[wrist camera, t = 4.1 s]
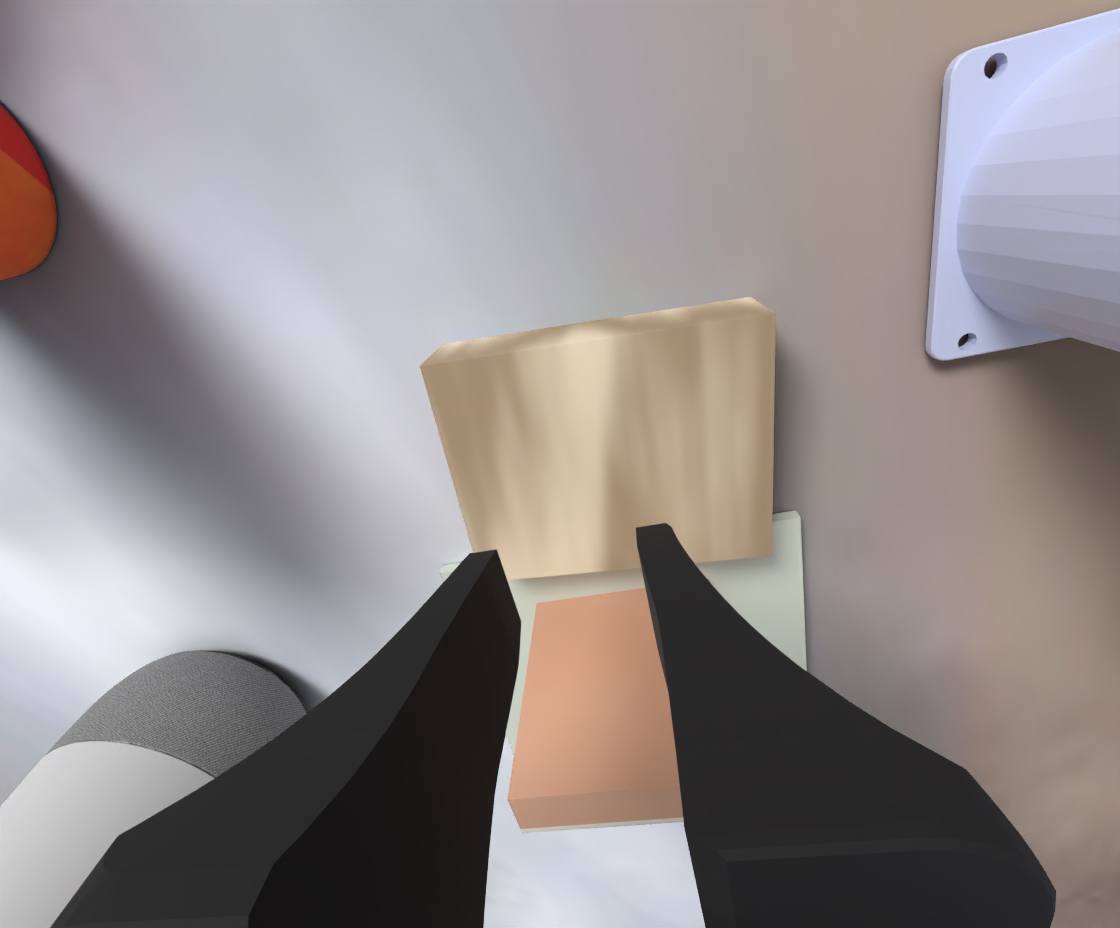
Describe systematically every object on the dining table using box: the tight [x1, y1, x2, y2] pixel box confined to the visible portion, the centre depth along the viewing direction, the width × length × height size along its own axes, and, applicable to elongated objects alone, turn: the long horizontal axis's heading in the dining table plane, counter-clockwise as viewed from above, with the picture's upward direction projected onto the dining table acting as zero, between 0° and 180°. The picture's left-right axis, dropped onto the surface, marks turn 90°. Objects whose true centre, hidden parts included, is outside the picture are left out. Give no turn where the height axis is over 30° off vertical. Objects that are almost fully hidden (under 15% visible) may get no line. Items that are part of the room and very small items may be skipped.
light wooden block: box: [420, 297, 776, 580], centre depth 18 cm, size 3×8×10 cm
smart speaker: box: [0, 651, 307, 928], centre depth 20 cm, size 10×9×14 cm
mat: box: [440, 510, 807, 754], centre depth 23 cm, size 14×13×1 cm
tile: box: [508, 579, 710, 833], centre depth 18 cm, size 7×2×8 cm, turn 103°
